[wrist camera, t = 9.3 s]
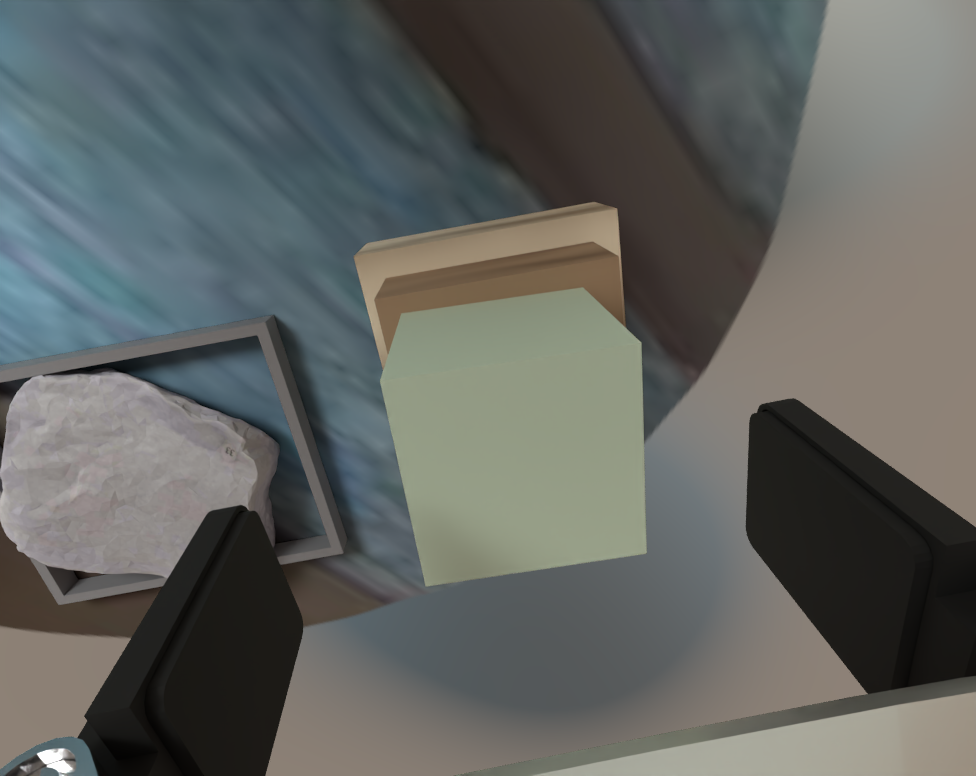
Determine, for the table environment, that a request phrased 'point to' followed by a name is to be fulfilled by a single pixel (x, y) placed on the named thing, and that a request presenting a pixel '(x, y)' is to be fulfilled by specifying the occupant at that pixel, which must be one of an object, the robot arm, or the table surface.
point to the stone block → (123, 471)
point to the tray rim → (334, 542)
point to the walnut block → (503, 282)
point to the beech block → (482, 247)
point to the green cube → (518, 434)
